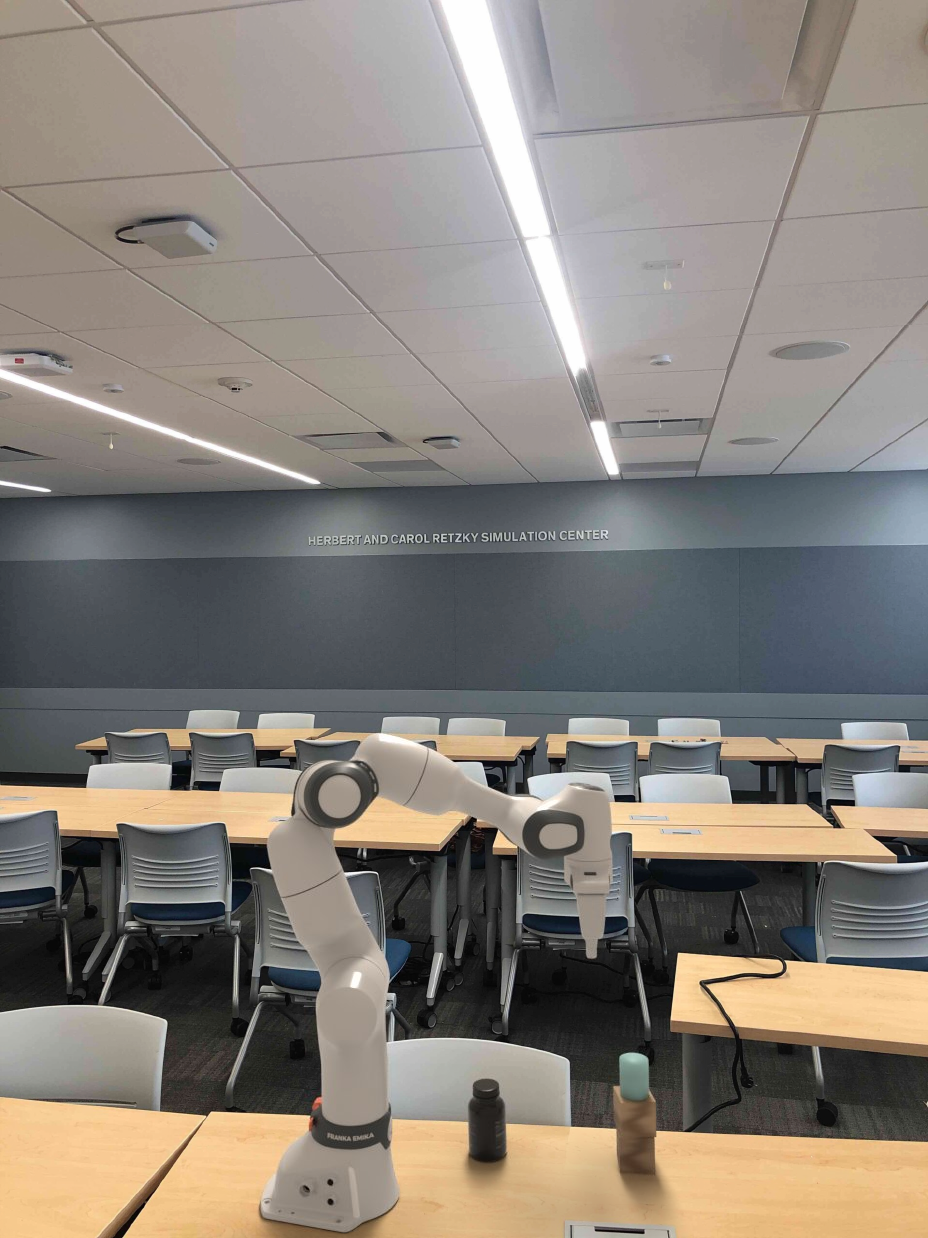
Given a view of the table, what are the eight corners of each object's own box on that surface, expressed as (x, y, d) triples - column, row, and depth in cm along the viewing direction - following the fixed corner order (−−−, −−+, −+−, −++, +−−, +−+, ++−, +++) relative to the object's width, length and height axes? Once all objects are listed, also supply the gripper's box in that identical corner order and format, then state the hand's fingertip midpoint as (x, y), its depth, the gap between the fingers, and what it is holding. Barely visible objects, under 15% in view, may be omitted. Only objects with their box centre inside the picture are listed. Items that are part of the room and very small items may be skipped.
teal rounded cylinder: (621, 1101, 153) (620, 1065, 154) (618, 1086, 158) (618, 1052, 159) (650, 1102, 153) (650, 1066, 153) (647, 1087, 158) (646, 1053, 158)
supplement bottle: (498, 1139, 164) (497, 1073, 164) (512, 1159, 157) (511, 1090, 158) (463, 1146, 161) (462, 1079, 162) (475, 1167, 155) (474, 1096, 155)
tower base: (619, 1173, 152) (619, 1138, 153) (616, 1153, 158) (616, 1119, 159) (655, 1174, 152) (654, 1139, 152) (650, 1155, 158) (650, 1120, 158)
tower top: (622, 1139, 152) (621, 1103, 152) (613, 1120, 158) (613, 1086, 158) (656, 1137, 153) (655, 1102, 153) (647, 1119, 159) (646, 1085, 159)
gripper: (568, 858, 174) (570, 930, 174) (573, 886, 154) (574, 967, 153) (601, 858, 173) (602, 930, 173) (610, 886, 153) (611, 968, 153)
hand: (589, 948), depth 163 cm, fingers open, 8 cm apart
